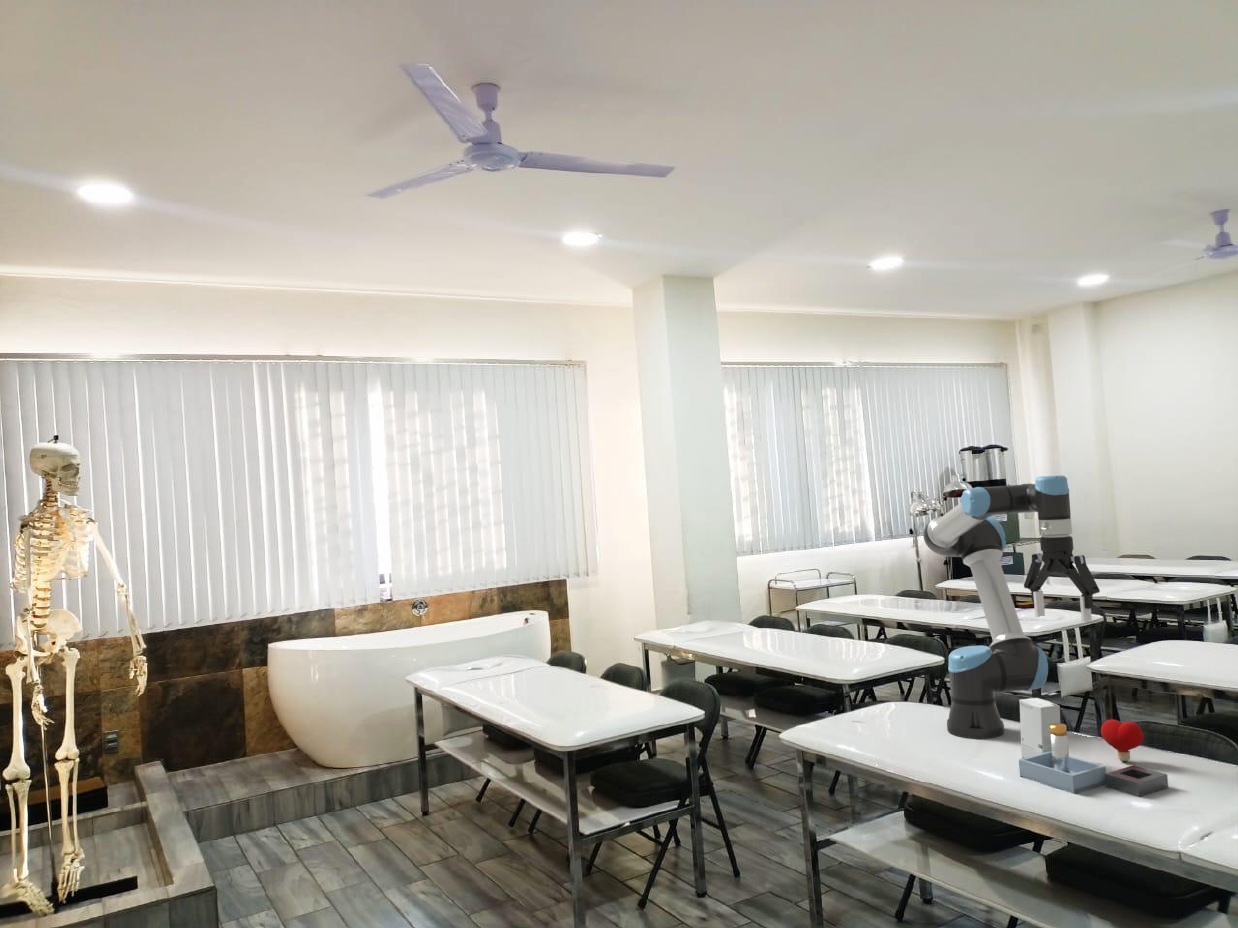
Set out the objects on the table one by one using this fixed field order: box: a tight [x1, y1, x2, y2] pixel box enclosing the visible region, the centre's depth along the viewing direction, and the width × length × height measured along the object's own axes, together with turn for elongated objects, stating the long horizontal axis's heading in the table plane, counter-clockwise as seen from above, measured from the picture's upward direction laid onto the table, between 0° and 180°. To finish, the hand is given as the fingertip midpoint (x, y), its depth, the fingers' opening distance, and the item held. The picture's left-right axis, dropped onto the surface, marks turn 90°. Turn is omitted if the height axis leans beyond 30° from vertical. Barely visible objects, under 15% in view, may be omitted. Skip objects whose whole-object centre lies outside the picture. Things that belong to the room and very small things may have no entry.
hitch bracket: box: [1105, 764, 1169, 798], centre depth 199 cm, size 8×10×3 cm
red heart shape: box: [1100, 718, 1144, 763], centre depth 216 cm, size 9×7×10 cm
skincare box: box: [1018, 697, 1061, 759], centre depth 221 cm, size 8×6×15 cm
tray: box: [1018, 751, 1107, 795], centre depth 206 cm, size 15×11×4 cm
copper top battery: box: [1049, 722, 1070, 773], centre depth 207 cm, size 4×4×12 cm
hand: (1062, 618), depth 224 cm, fingers open, 13 cm apart
